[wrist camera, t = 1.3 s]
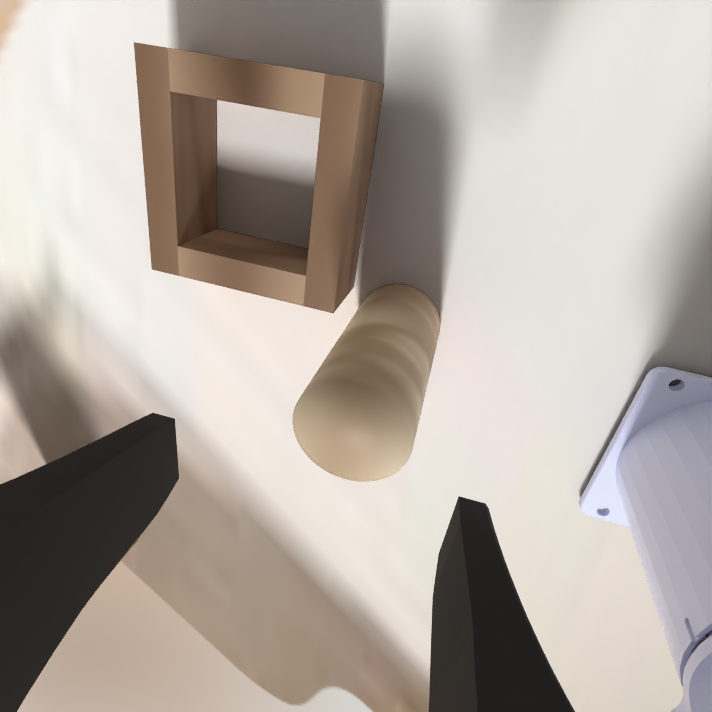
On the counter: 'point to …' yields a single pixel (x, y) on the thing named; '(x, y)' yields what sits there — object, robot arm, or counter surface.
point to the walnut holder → (199, 173)
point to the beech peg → (371, 387)
